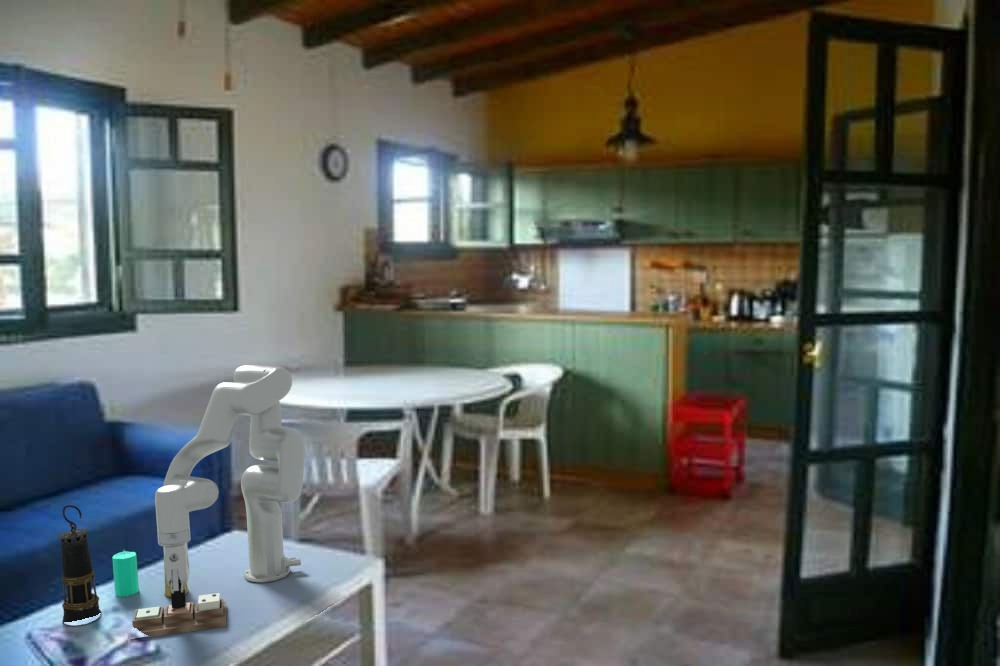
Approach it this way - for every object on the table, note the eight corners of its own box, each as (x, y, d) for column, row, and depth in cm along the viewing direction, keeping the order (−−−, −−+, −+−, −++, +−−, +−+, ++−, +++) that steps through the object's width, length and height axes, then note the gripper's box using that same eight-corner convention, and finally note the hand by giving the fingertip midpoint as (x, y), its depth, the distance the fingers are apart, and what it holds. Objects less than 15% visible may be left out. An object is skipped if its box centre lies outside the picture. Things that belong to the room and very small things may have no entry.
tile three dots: (190, 611, 223) (190, 601, 223) (189, 619, 219) (189, 609, 218) (169, 614, 222) (169, 604, 222) (168, 622, 217) (167, 612, 217)
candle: (130, 597, 237) (127, 554, 235) (110, 595, 238) (106, 553, 236) (143, 588, 242) (140, 546, 241) (124, 586, 244) (120, 545, 242)
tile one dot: (160, 615, 221) (159, 605, 221) (158, 624, 217) (157, 613, 216) (138, 618, 220) (138, 608, 220) (136, 626, 215) (136, 616, 215)
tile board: (226, 606, 229) (225, 593, 229) (225, 626, 218) (224, 612, 217) (135, 619, 223) (134, 605, 223) (129, 639, 212) (128, 626, 211)
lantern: (83, 608, 230) (74, 496, 226) (110, 613, 227) (101, 500, 223) (54, 622, 222) (44, 507, 218) (81, 628, 218) (71, 511, 215)
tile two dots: (220, 601, 225) (219, 592, 225) (219, 609, 220) (219, 599, 220) (199, 604, 224) (198, 594, 223) (198, 612, 219) (198, 602, 219)
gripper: (188, 544, 212) (193, 617, 214) (191, 524, 226) (196, 592, 228) (155, 548, 210) (160, 621, 212) (160, 527, 224) (165, 596, 226)
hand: (178, 606), depth 220 cm, fingers closed
